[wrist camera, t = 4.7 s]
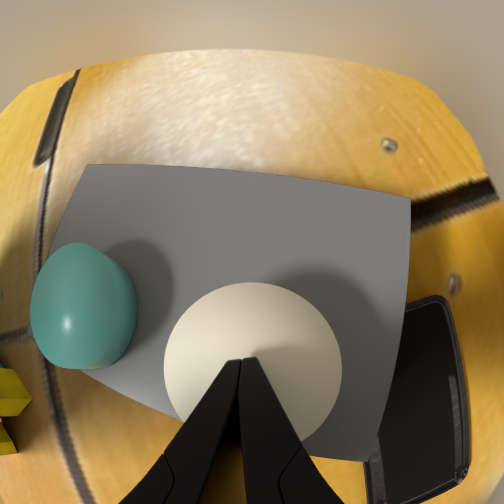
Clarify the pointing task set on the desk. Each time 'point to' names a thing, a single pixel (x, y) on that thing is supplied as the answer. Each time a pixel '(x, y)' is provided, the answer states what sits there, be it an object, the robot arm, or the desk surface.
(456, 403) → the phone
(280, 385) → the cream button
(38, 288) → the teal button
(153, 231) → the button box
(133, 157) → the desk surface
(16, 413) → the decorative book
